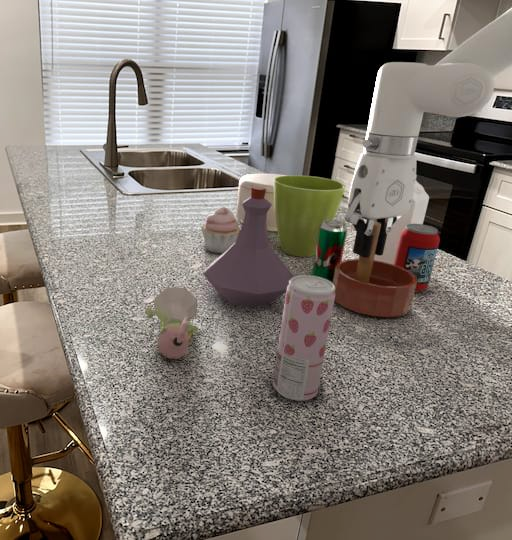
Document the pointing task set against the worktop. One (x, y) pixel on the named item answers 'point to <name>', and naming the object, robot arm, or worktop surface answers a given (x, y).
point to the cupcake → (220, 231)
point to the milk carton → (405, 223)
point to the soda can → (329, 248)
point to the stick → (367, 263)
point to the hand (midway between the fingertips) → (367, 253)
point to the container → (268, 183)
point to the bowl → (375, 289)
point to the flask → (250, 261)
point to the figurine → (174, 320)
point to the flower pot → (304, 210)
